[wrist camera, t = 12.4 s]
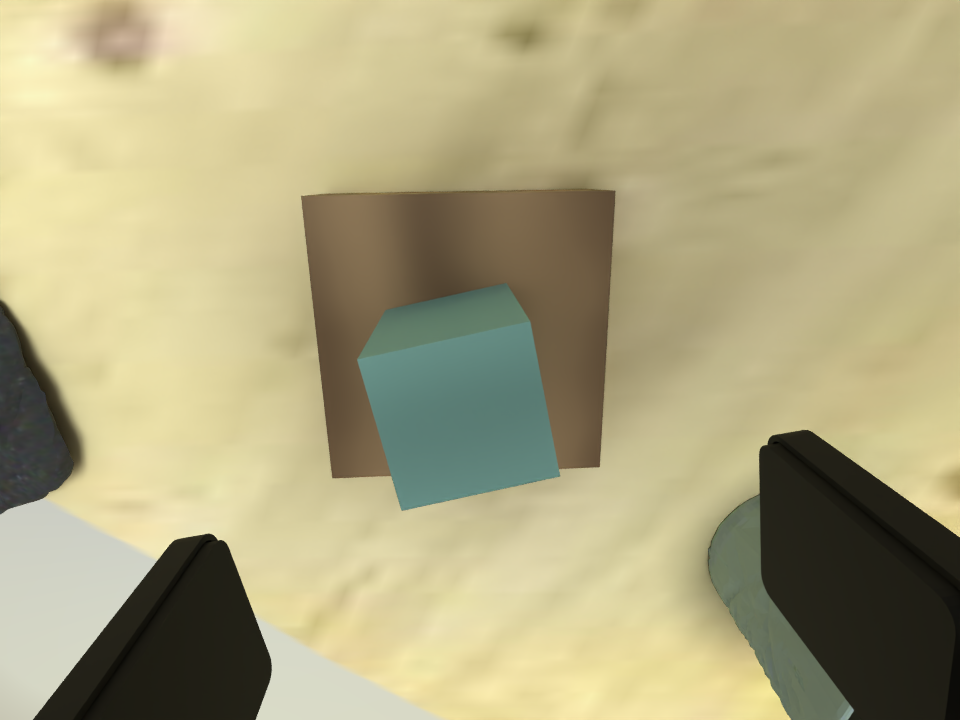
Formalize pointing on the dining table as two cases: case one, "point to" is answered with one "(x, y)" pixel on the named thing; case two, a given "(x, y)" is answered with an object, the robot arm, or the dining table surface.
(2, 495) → the dark slate chunk
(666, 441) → the dining table surface
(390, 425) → the teal block
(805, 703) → the grey green cup
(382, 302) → the walnut block
